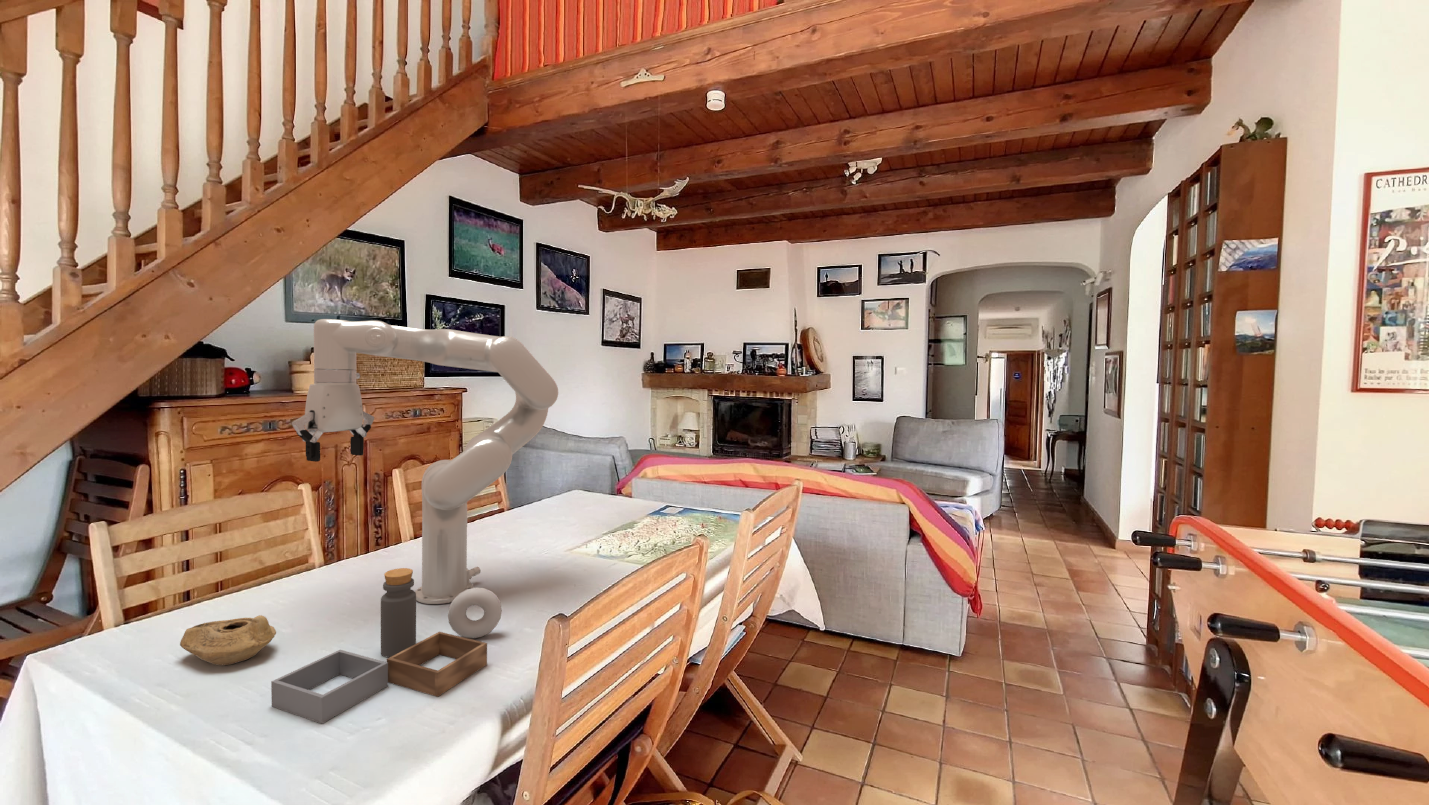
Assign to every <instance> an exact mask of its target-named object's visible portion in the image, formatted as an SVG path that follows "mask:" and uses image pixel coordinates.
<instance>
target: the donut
mask: <svg viewBox="0 0 1429 805" xmlns="http://www.w3.org/2000/svg"><path fill="white" fill-rule="evenodd" d="M472 606H479V607H480V608H482V609H483V615H482V617H481V618H479V619H475V620H474V619H470V618H469V617H468V614H467V611H468V609H469V608H470V607H472ZM502 613H503V609H502V603H501V601H500V599H499V598H498V595H497V594H496V593H494V592H493V591H492V590H489V589H488V588H485V587H474V588H471V589H467V590H465V591H463V592H461V593H460V594H459V595H458V596H457V597H456V598H455V599H454V600H453V601H452V602H450V605H449V607H448V612H447V618H448V623H449V626H450V628H451V629H452V631H453V632H454V633H455V634H457V636H460V637H464V638H468V639H478V638H481V637H484V636H486V635H488V634H489V633H491V632H492V631H494V629H495V628H497V625H499V622H500V620H501V616H502Z"/></svg>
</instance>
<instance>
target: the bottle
mask: <svg viewBox="0 0 1429 805" xmlns="http://www.w3.org/2000/svg"><path fill="white" fill-rule="evenodd" d="M413 572H414V570H413V569H411V568H407V567H400V568H393V569H390V570H388V571H386V572H384V574H383V575H384V576H383V577H384V580H385V581H384V582H383V584H382V589H383V590H384V591H385V593H384V594H382V595H381V597H380V655H381V656H383V657H384V658H390V657H392V656H394V655H395V654H397V653H399V652H401V651H403V650H405V649H407V648H409V647H411V646H413V645H415V644H417V600H416V592H415V591H416V590H413V589H412V588H413V587H414V585H415V580H414V578H413Z"/></svg>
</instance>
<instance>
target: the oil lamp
mask: <svg viewBox="0 0 1429 805" xmlns="http://www.w3.org/2000/svg"><path fill="white" fill-rule="evenodd" d="M276 635H277V631H276V629H275V627H274V626H272V625H271V624H270V623H269V619H268V618H267V617H266V616H264V615H262V614H261V615H256V616H255V617H239V618H234V619H233V618H232V619H224V620H215V621H208V622H204V623H200V624H197V625H194V626H192V627H189V628H186V630H185V631H184V633H183V636H182V637H181V639H180V641H179V646H180V648H182V649H183V650H185V651H187V652H189V653H190V654H192V655H194V656H196V657H197V658H198V659H201V660H202V661H205V662H206V663H207V662H208V663H210V664H211V665H216V666H229V665H233V664H236V663H241V662H244V661H247V660H249V659H251V658H253V657H255V656H256V655H257V654H258V652H260V651H261V650H262V649H263V648H265V647H266V646H267V645H269V644H270V643H271V642H272V640H273V639H274V638H275V636H276Z"/></svg>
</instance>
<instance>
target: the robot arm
mask: <svg viewBox="0 0 1429 805" xmlns="http://www.w3.org/2000/svg"><path fill="white" fill-rule="evenodd" d="M357 354H364V355H369V356H370V355H371V356H376V357H385V358H394V359H403V360H411V361H416V362H417V361H419V362H423V363H424V362H425V363H430V364H432V365H437V366H442V367H444V366H445V367H452V368H459V369H461V368H462V369H469V370H477V371H485V372H486V371H487V372H493V373H498V374H499V375H500V377H501V378H502V379H503V380H505V382H506V383H507V385H509V386H510V388H511V389H512V390H513V391H514V393H515V402H514V405H513V407H512V408H511V410H510V411H509V412H507V413H506V415H504V416H503V417H500V419H499V420H497V421H496V422H495V423H492V425H491V426H489V427H487V428H486V429H484V430H483V431H481V432H480V433H478V434H476V435H475V436H473V437H471V439H470V440H469V441H468V442H467V443H466V445H465V448H464V451H462V452H460V454H458V455H457V456H455V457H454V458H453V459H440V460H437V461H435V462H433V463H431V464H430V465H428V467H427V468H426V469H425V471H424V473H423V474H422V477H421V511H422V513H421V515H422V516H421V517H422V519H421V520H422V521H421V522H422V523H421V526H422V527H421V528H422V529H421V586H420V587H418V588H416V590H414V591H415V592H416V602H419V603H421V604H425V605H442V604H449V603H450V604H451V603H452V601H453V600H454V599H455V598H456V597H457V596H458V595H459V594H460V593H461V592H463V591H465V590H467V589H471V588H475V586H474V583H471V582H470V580H471V579H473V577H476V576H478V575H480V574H481V573H482V572H481V568H480V567H479V566H475V567H473V568H471V569H468V567H467V566H468V564H467V563H468V562H467V561H468V559H467V558H468V552H467V550H468V502H469V501H470V500H471V499H473V498H474V497H476V496H477V495H478V494H480V493H481V492H483V491H484V490H485V489H486V488H488V487H490V485H492V484H493V483H495V482H496V481H497V480H498V479H500V478H501V477H502V476H503V475H505V473H506V472H507V471H508V469H509V468H510V466H511V463H512V460H513V455H514V454H515V453H517V451H519V450H520V449H521V448H523V447H524V446H525V445H527V444H528V443H529V442H530V441H531V440H532V439H533V438H535V437H536V435H538V433H540V431H541V429H542V428H543V427H544V425H545V422H546V420H547V416H548V412H549V408H551V407H553V405H554V404H555V403H556V401H557V400H558V397H559V388H558V385H557V383H556V381H555V380H554V378H553V376H551V374H549V372H547V370H546V369H545V368H544V367H543V366H542V364H541V363H540V362H539V361H538V360H537V359H536V358H535V356H533V354H532V353H531V352H530V351H529V349H528V348H527V347H526V346H525V345H524V344H523V343H522V342H521V341H520V340H519V339H518V338H515V337H513V336H509V335H505V336H504V335H503V336H500V335H499V336H498V335H492V334H491V335H489V334H482V333H476V332H469V331H464V330H463V331H461V330H456V329H449V328H447V329H446V328H440V329H439V328H438V329H424V328H414V327H406V326H400V325H399V326H398V325H391V324H388V323H387V322H384V321H382V320H359V321H357V320H356V321H350V320H346V319H334V318H332V319H331V318H321V319H317V320H316V321H315V322H314V324H313V384H309V387H308V390H307V395H306V401H305V407H304V408H305V409H304V414H303V415H302V416H300V417H298V418H297V419H295V420H293V421H292V422H291V425H292V427H293V429H294V430H295V431H296V435H298V437H299V438H301V439H302V442H305V457H306V461H307V462H314V463H315V462H318V463H319V462H320V461H321V442H319V439H320V438H321V436H322V435H323V434H324V433H333V432H335V433H336V432H345V431H349V433H351V435H352V436H350V440H349V442H350V455H351V456H364V450H365V449H364V448H365V445H364V444H365V442H364V441H365V440H364V439H365V438H366V437H367V435H368V434H367V433H368V432H369V431H370V430H371V429H372V424H373V423H374V420H375V417H374V416H373V415H372V414H370V413H367V412H366V411H364V410H363V401H362V393H361V390H360V386H359V384H357V380H358V379H360V378H361V373H359V372H357Z"/></svg>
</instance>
